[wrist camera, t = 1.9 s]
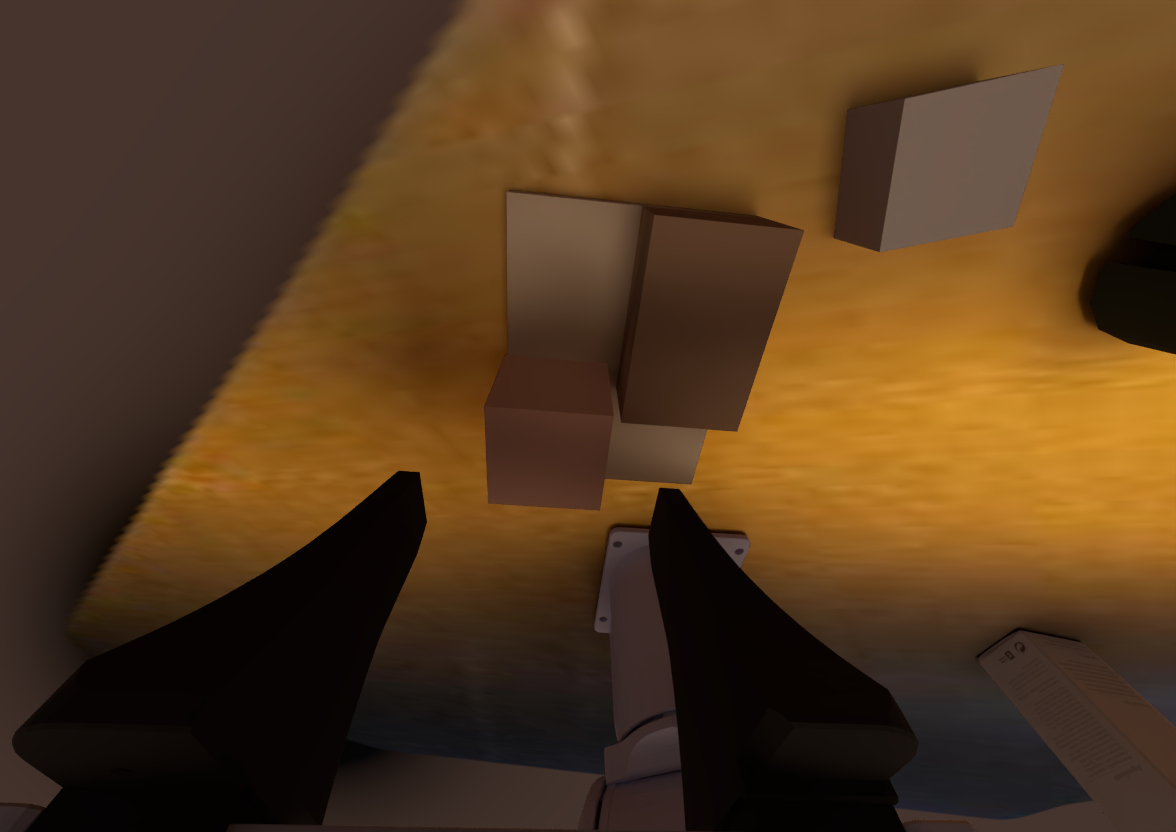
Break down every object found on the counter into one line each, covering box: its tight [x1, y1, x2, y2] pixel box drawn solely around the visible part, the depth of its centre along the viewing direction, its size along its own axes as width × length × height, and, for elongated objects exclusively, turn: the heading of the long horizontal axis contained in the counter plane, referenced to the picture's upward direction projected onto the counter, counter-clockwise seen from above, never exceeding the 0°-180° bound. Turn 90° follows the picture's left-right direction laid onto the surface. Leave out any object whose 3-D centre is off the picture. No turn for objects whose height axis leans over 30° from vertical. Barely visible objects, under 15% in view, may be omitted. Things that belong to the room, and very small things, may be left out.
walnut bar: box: [616, 206, 804, 432], centre depth 15 cm, size 7×4×3 cm, turn 175°
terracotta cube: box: [484, 355, 614, 510], centre depth 16 cm, size 4×4×4 cm
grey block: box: [834, 64, 1064, 252], centre depth 13 cm, size 4×4×3 cm
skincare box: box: [978, 630, 1176, 832], centre depth 25 cm, size 6×4×12 cm
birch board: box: [507, 190, 765, 484], centre depth 18 cm, size 12×9×1 cm
